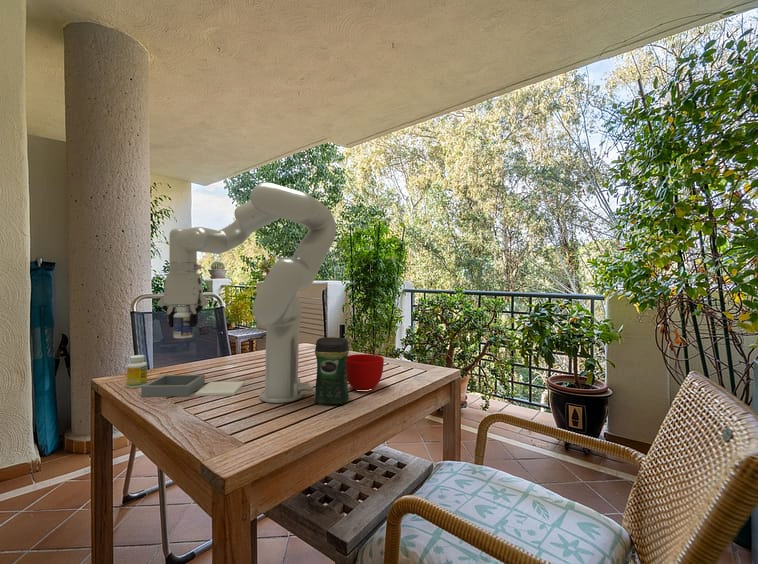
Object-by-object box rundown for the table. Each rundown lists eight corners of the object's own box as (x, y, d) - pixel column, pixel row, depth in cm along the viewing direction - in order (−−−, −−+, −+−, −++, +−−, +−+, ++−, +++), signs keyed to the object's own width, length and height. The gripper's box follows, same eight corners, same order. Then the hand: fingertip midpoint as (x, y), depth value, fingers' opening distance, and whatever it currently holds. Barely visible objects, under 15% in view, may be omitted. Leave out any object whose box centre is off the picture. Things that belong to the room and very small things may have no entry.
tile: (244, 383, 120) (244, 381, 120) (233, 395, 108) (233, 392, 108) (210, 384, 119) (210, 381, 119) (195, 395, 107) (195, 393, 107)
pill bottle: (184, 339, 109) (184, 306, 109) (169, 338, 110) (169, 306, 110) (196, 336, 114) (196, 305, 114) (182, 335, 115) (182, 305, 115)
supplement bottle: (131, 383, 118) (131, 354, 118) (149, 383, 119) (150, 354, 119) (123, 388, 112) (124, 358, 112) (142, 387, 114) (143, 357, 114)
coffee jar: (350, 398, 107) (351, 336, 107) (345, 407, 99) (346, 340, 99) (318, 396, 108) (320, 335, 108) (311, 405, 100) (312, 339, 100)
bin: (204, 383, 119) (204, 374, 119) (187, 396, 106) (187, 386, 106) (163, 384, 118) (163, 375, 118) (141, 396, 105) (141, 386, 105)
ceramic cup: (381, 380, 127) (382, 352, 127) (384, 395, 110) (384, 362, 110) (345, 379, 127) (345, 351, 127) (342, 395, 110) (342, 362, 110)
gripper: (216, 269, 117) (216, 325, 117) (160, 269, 115) (160, 325, 115) (207, 268, 109) (207, 327, 109) (147, 268, 107) (147, 328, 107)
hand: (183, 326), depth 112 cm, fingers closed on pill bottle, 5 cm apart
